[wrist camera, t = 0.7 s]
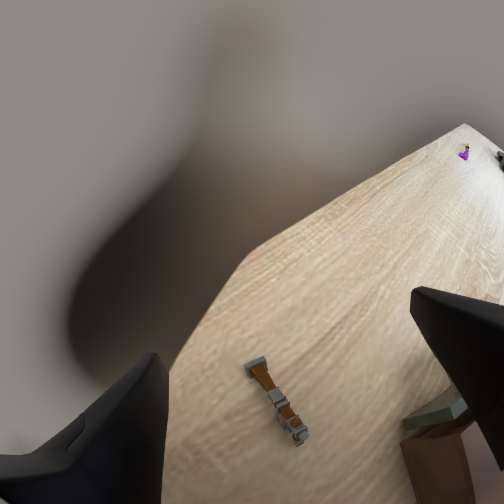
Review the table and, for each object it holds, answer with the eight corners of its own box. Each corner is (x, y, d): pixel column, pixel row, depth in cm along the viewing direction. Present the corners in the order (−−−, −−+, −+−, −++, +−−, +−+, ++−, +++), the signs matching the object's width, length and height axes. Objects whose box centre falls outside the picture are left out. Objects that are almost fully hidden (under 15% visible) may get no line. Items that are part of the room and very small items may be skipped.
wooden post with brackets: (295, 458, 16) (294, 441, 14) (252, 390, 23) (243, 362, 20) (315, 447, 17) (318, 428, 14) (269, 382, 23) (263, 353, 21)
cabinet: (399, 442, 17) (460, 433, 10) (483, 379, 19) (535, 349, 12) (425, 537, 9) (479, 550, 2) (506, 464, 11) (557, 450, 4)
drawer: (385, 374, 20) (426, 348, 15) (463, 328, 23) (500, 297, 17) (430, 516, 10) (476, 523, 5) (505, 447, 12) (547, 434, 7)
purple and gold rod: (467, 161, 50) (469, 146, 57) (468, 156, 49) (469, 143, 57) (458, 157, 51) (462, 143, 59) (459, 153, 51) (462, 140, 58)
